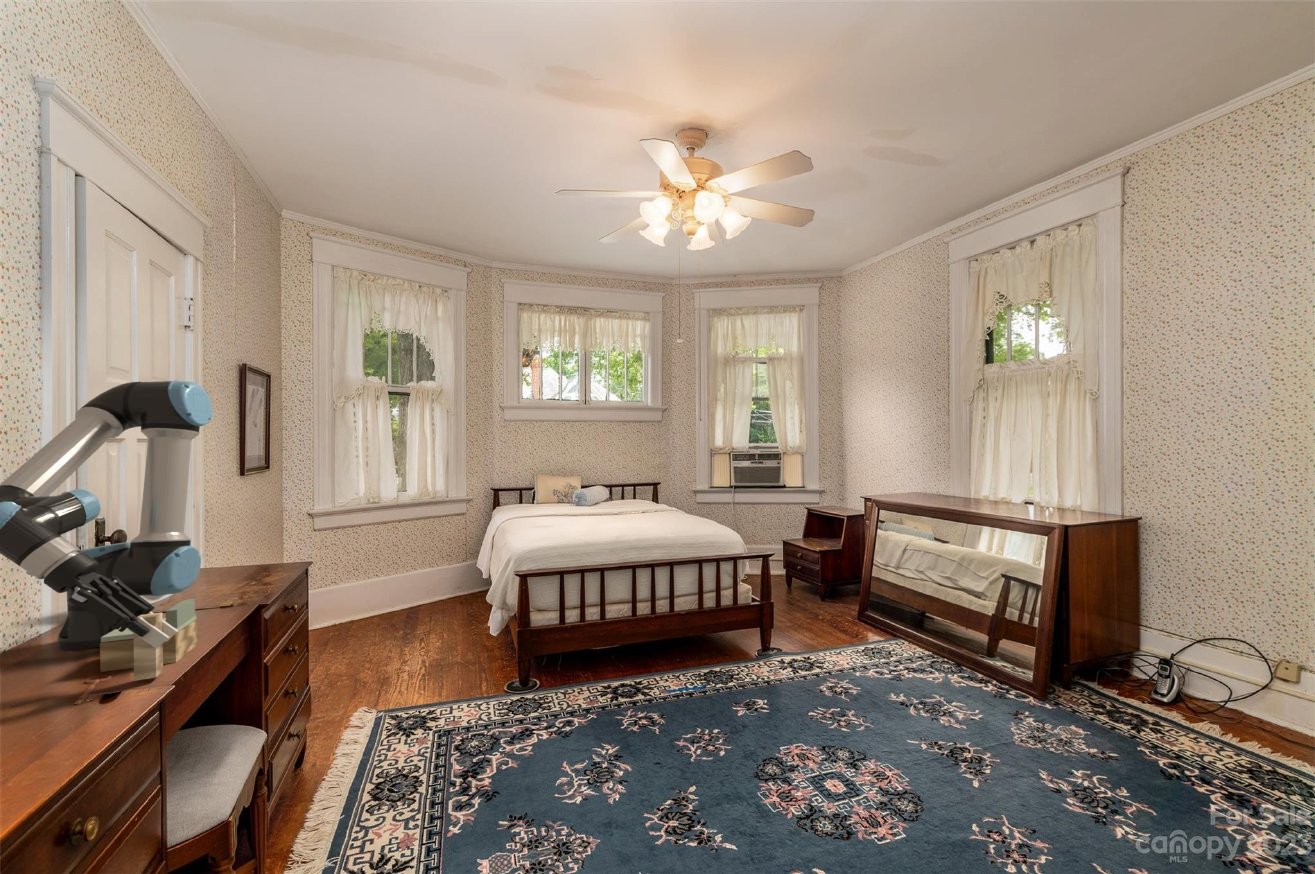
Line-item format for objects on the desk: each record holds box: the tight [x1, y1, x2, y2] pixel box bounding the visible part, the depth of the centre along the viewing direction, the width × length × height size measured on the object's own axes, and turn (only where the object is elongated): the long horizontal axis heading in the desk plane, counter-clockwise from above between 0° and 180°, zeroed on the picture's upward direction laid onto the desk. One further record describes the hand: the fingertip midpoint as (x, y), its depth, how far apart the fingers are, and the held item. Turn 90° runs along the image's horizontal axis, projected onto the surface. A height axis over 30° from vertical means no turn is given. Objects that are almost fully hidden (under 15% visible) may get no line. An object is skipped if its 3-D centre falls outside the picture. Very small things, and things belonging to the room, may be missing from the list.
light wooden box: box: [99, 619, 198, 673], centre depth 131 cm, size 12×13×6 cm
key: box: [74, 674, 112, 705], centre depth 115 cm, size 6×1×15 cm
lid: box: [101, 598, 197, 642], centre depth 131 cm, size 12×13×5 cm
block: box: [133, 612, 164, 681], centre depth 118 cm, size 4×4×12 cm
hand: (167, 639), depth 120 cm, fingers closed on block, 4 cm apart
